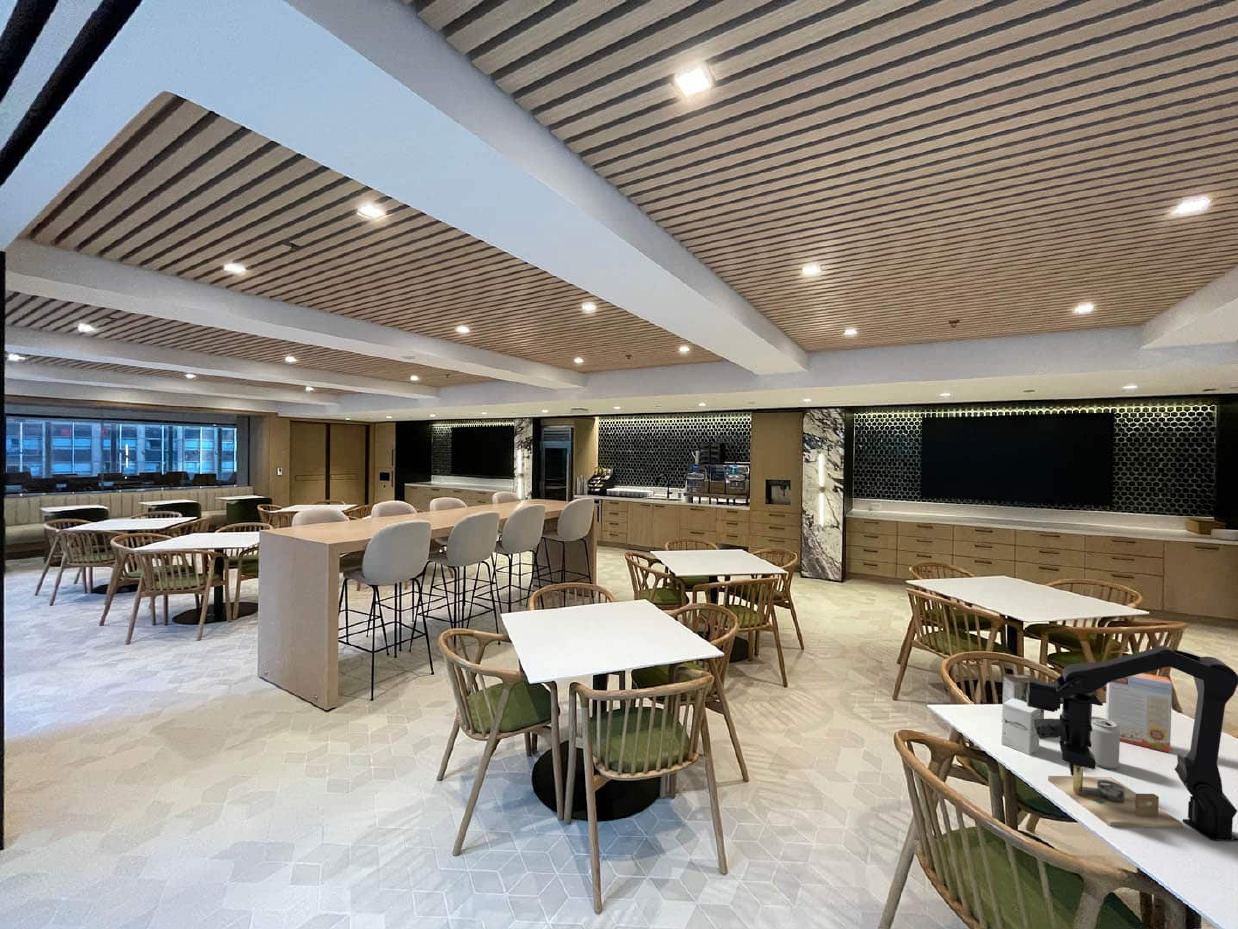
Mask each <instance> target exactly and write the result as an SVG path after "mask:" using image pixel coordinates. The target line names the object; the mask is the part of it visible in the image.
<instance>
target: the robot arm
mask: <svg viewBox="0 0 1238 929" xmlns="http://www.w3.org/2000/svg"><path fill="white" fill-rule="evenodd" d="M1164 668H1172V669H1174V670H1178V671H1180V672H1182V673H1183V674H1187V675H1188V676H1190V677H1191V676H1192V677H1193V680H1194V684H1195V688H1196V692H1197V699H1196V705H1195V714H1194V721H1193V727H1192V728H1193V729H1192V735H1191V736H1192V737H1191V742H1190V750H1189V752H1188V753H1187V754H1186V756H1184V755H1180V754H1177V755H1176V758H1177V759H1176V760H1177V761H1176V762H1177V764H1176V766H1175V768H1174V771H1175V772H1176V774H1177V776H1178V778H1179V780H1181V783H1182V784H1183V785H1184V787H1185V788H1186V790H1187V791H1188V792H1189V794H1190V796H1189V801H1188V804H1187V805H1188V807H1187V818H1183V819H1182V823H1184V824H1186V825H1187V826H1189V827H1191V828H1192V829H1194V830H1195V831H1197V833H1200V834H1201V835H1203V836H1205V837H1206V838H1208V839H1209V840H1212V841H1233V842H1234V841H1235V842H1237V841H1238V837H1237V835H1234V834H1233V820H1234V817H1235V816H1236V815H1237V813H1238V809H1237V808H1236V806H1234V804H1233V803H1232V802H1231V801H1230V799H1229V798H1228V797H1227V796H1226V795H1225V793H1224V792H1223V783H1222V778H1221V774H1220V769H1219V766H1218V759H1219V752H1220V746H1221V745H1220V744H1221V738H1222V737H1221V736H1222V730H1223V724H1224V718H1225V717H1224V716H1225V709H1226V704H1227V703H1228V702H1229V701H1230V699H1231V698H1232V697H1233V696H1234V695H1235V693H1236V690H1237V688H1238V673H1237V672H1236V671H1235V670H1234V669H1233V668H1232V667H1230V666H1229V665H1228V664H1226V663H1225V662H1223V661H1222V660H1220V659H1219V658H1217V657H1213V656H1199V655H1196V654H1193V653H1190V652H1188V651H1187V652H1186V651H1182V650H1178V649H1175V648H1172V647H1169V646H1167V645H1163V644H1162V645H1158V646H1157V645H1156V646H1155V647H1153V648H1149V649H1146V650H1142V651H1138V652H1135V653H1132V654H1128V655H1124V656H1121V657H1117V658H1113V659H1110V660H1106V661H1105V660H1104V661H1102V662H1080V663H1079V662H1078V663H1070V664H1068V665H1066V666H1065V667H1063V670H1062V671H1061V673H1062V674H1061V675H1059V676H1058V677H1057V678H1056V679H1055V680H1053V681H1052V684H1048V683H1044V682H1043V683H1040V682H1037V681H1034V680H1029V684H1028V689H1027V691H1026V699H1027V706H1028V707H1033V708H1037V709H1042V710H1044V711H1047V712H1051V713H1055V712H1058V710H1060V709H1062V710H1061V711H1062V712H1061V714H1059V718H1044V719H1035V720H1034V726H1035V729H1036V732H1037V734H1038V737H1039V739H1043V740H1044V739H1054V738H1059V739H1060V740H1059V741H1058V742H1059V746H1060V747H1059V748H1060V751H1061V755H1060V756H1061V760H1062V761H1063V762H1065V763H1068V766H1069V770H1070V776H1073V775H1074V764H1075V765H1079V766H1083V768H1086V769H1090V770H1096V767H1097V765H1096V761H1095V757H1094V755H1093V754H1092V752H1091V751H1090V749H1089V748H1088V747H1090V748H1091V740H1090V739H1091V732H1092V725H1091V718H1092V716H1093V715H1092V714H1093V705H1095V706H1098V707H1102V706H1104V703H1103V702H1102V699H1101V698H1100V697H1099V696H1098V695H1096V693H1095V691H1098V690H1101V689H1102V688H1104V687H1105V686H1107V684H1108V683H1109V682H1112V681H1114V680H1118V679H1122V678H1125V677H1129V676H1133V675H1137V674H1141V673H1144V674H1146V673H1148V672H1154V671H1156V670H1160V669H1164ZM1061 699H1062V708H1061Z"/></svg>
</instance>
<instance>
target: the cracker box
mask: <svg viewBox="0 0 1238 929" xmlns="http://www.w3.org/2000/svg"><path fill="white" fill-rule="evenodd" d="M1105 695H1106V697H1105V699H1106V701H1105V719H1108V720H1110V721H1113V722H1114V723H1116V724H1117V728H1118V729H1119V730H1120V742H1123V743H1127V744H1132V745H1136V746H1140V747H1143V748H1148V749H1151V750H1152V749H1153V750H1157V751H1160V752H1165V753H1168V754H1169V753H1171V739H1172V738H1171V735H1172V734H1171V733H1172V731H1171V730H1172V706H1173V705H1172V703H1173V702H1172V701H1173V700H1172V698H1173V683H1172V682H1171V680H1170V679H1169V678H1168V677H1166V676H1160V675H1155V674H1149V673H1141V674H1137V675H1133V676H1129V677H1125V678H1122V679H1118V680H1114V681H1112V682H1109V683H1108V684H1106V693H1105Z"/></svg>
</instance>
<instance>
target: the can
mask: <svg viewBox="0 0 1238 929" xmlns="http://www.w3.org/2000/svg"><path fill="white" fill-rule="evenodd" d="M1091 725H1092V732H1091V739H1090V740H1091V748H1090V747H1088V748H1089V749H1090V751H1091V752H1092V754H1093V755H1094V757H1095V761H1096V767H1099V768H1104V769H1107V770H1109V769H1110V770H1111V769H1114V768H1118V767H1119V764H1120V747H1121V744H1120V743H1121V741H1120V730H1119V729H1118V728H1117V724H1116V723H1114V722H1113V721H1110V720H1108V719H1106V717H1100V716H1095V715H1094V716H1093V715H1092V718H1091Z"/></svg>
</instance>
